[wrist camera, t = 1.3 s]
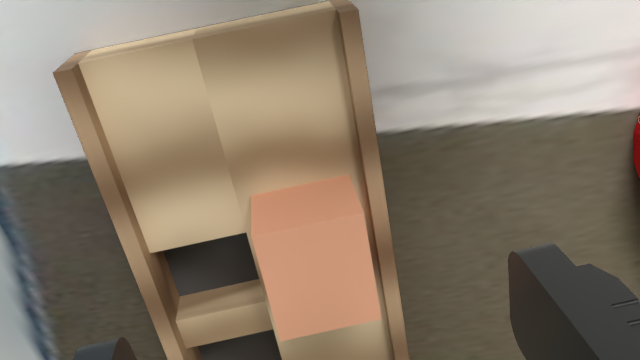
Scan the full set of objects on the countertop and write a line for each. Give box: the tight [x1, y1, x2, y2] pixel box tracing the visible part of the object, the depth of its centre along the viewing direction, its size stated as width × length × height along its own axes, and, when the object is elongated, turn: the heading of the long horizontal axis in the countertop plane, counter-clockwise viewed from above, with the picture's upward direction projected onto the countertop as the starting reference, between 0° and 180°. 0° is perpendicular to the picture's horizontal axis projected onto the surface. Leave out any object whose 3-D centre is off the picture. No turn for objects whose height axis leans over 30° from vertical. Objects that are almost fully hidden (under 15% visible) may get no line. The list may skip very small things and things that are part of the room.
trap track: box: [53, 0, 409, 360], centre depth 30 cm, size 25×13×6 cm, turn 10°
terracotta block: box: [251, 175, 382, 342], centre depth 28 cm, size 6×5×4 cm
